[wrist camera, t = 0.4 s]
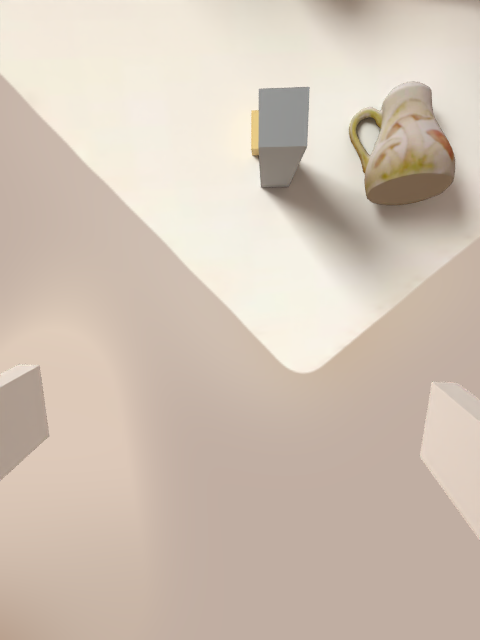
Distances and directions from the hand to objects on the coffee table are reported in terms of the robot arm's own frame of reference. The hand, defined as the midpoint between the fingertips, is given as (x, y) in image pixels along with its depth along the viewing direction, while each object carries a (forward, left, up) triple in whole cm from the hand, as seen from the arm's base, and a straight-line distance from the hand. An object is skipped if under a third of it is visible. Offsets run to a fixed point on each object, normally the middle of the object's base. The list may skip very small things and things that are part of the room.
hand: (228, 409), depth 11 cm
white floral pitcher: (-14, +13, -26) cm, 33 cm away
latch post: (-14, +2, -26) cm, 30 cm away
